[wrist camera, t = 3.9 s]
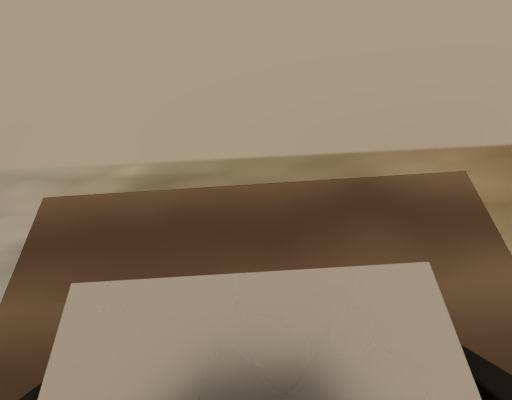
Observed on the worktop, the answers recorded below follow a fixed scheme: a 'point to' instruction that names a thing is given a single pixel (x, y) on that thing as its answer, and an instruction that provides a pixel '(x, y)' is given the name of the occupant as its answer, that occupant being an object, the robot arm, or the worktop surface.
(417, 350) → the aluminium bar
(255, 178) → the worktop surface
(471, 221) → the walnut pocket block
